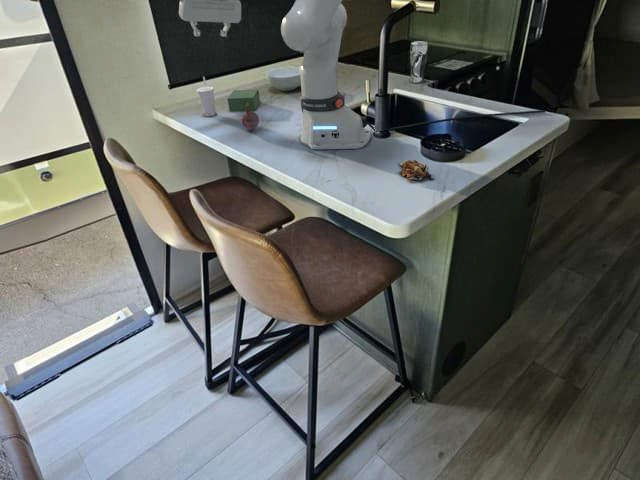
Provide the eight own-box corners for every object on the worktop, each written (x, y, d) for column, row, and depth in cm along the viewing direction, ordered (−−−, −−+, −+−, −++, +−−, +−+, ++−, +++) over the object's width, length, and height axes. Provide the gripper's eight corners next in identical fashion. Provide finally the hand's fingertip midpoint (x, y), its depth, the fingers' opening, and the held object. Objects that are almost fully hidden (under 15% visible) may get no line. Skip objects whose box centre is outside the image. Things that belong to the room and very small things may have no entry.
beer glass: (421, 84, 179) (424, 45, 170) (405, 82, 182) (407, 44, 173) (427, 79, 183) (430, 41, 175) (411, 78, 186) (414, 40, 178)
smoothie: (214, 117, 162) (206, 79, 154) (199, 117, 163) (190, 79, 155) (221, 111, 167) (213, 74, 159) (206, 111, 168) (197, 74, 160)
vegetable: (240, 134, 147) (235, 105, 141) (245, 127, 152) (240, 99, 146) (258, 134, 146) (253, 105, 140) (262, 127, 151) (258, 99, 145)
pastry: (414, 160, 123) (415, 149, 121) (434, 179, 114) (436, 167, 112) (391, 165, 122) (391, 153, 120) (410, 184, 112) (411, 172, 110)
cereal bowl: (302, 94, 178) (300, 76, 174) (263, 94, 181) (261, 77, 176) (310, 82, 191) (309, 65, 187) (274, 82, 194) (272, 65, 190)
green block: (260, 101, 173) (258, 89, 170) (255, 110, 165) (253, 97, 162) (235, 102, 174) (233, 90, 172) (229, 111, 166) (227, 98, 163)
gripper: (183, -12, 127) (184, 38, 135) (245, -7, 138) (242, 39, 147) (174, -17, 130) (175, 32, 138) (235, -11, 142) (233, 34, 150)
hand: (210, 36), depth 143 cm, fingers open, 8 cm apart
